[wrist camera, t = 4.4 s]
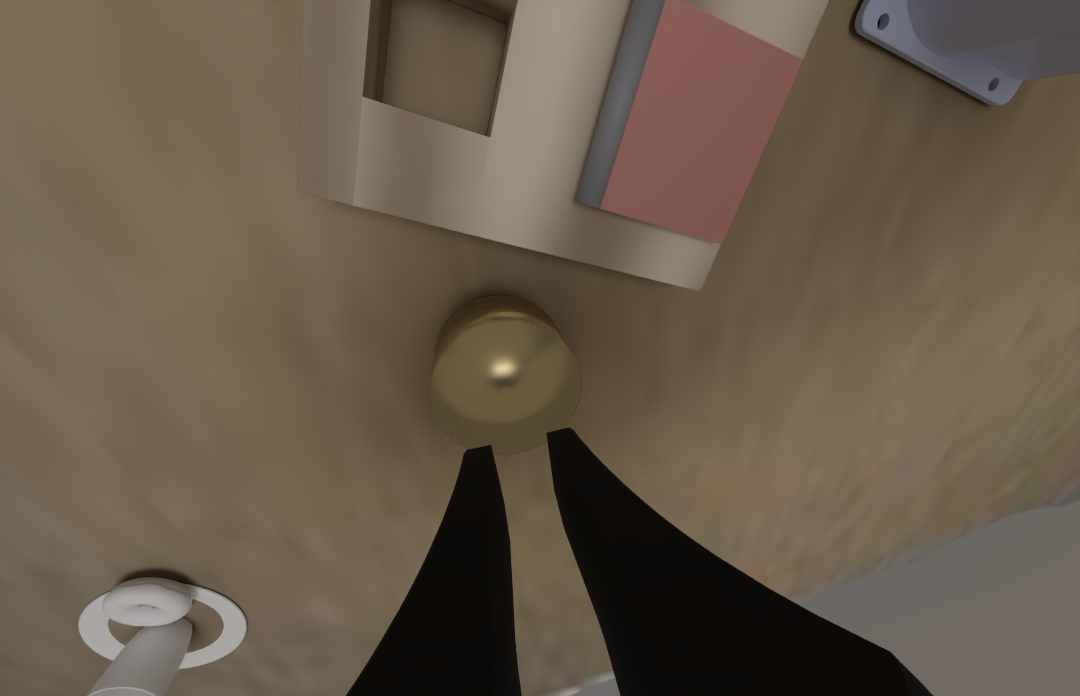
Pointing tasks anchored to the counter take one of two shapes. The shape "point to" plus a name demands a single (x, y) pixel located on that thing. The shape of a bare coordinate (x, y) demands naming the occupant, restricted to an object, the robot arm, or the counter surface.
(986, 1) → the robot arm
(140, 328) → the counter surface
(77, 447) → the counter surface
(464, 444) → the peg
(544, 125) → the block
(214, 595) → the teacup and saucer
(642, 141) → the plate
